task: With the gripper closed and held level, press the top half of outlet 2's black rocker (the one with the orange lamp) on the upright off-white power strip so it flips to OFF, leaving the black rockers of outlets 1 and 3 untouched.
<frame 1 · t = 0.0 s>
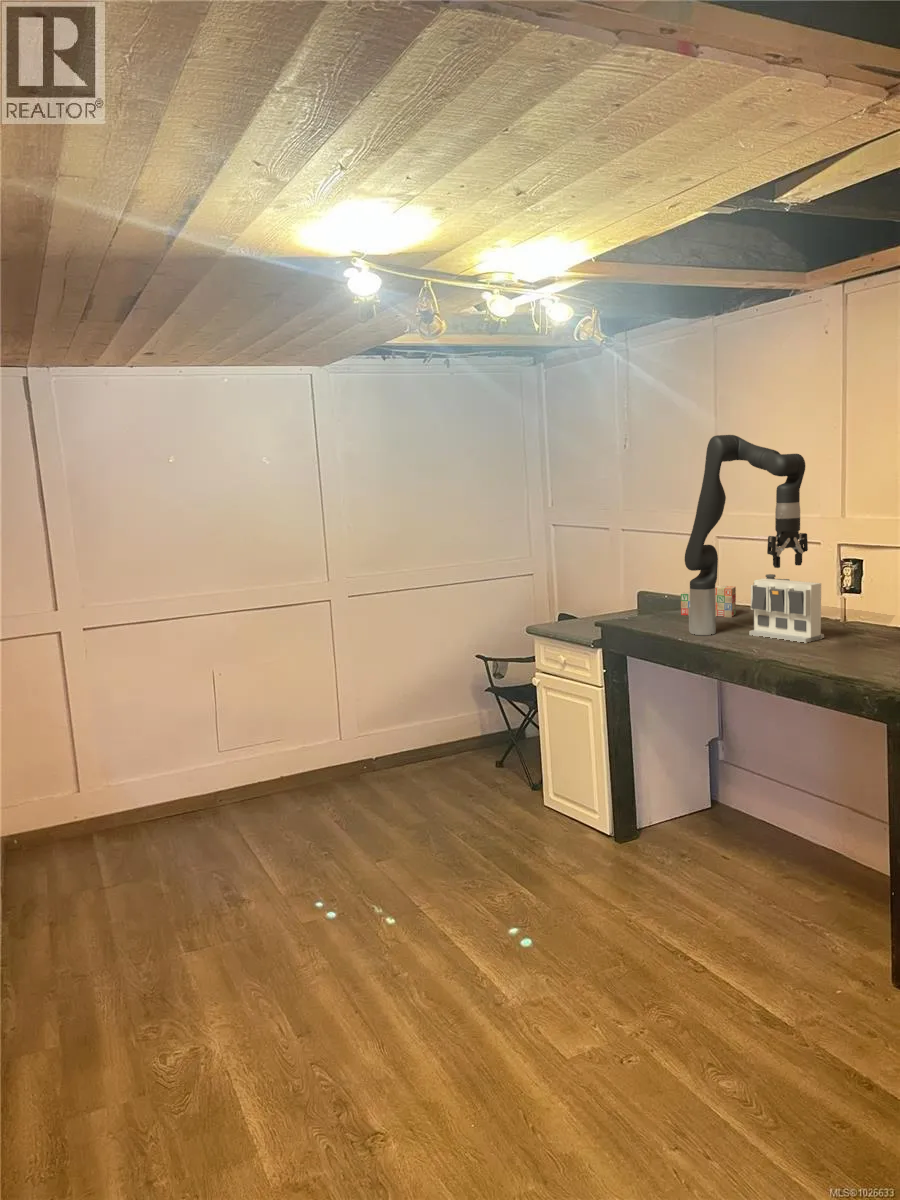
hand: (787, 566, 292), 29 cm above the table, tool pointing down, fingers open, 8 cm apart
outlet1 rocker: (760, 598, 325), point 14 cm above the table, hinge at -14.0°
outlet3 rocker: (797, 602, 313), point 14 cm above the table, hinge at 14.0°
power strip: (786, 636, 324), on the table
stack of blocks: (708, 615, 375), on the table
hip flask: (770, 626, 345), on the table
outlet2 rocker: (777, 600, 319), point 14 cm above the table, hinge at 14.0°
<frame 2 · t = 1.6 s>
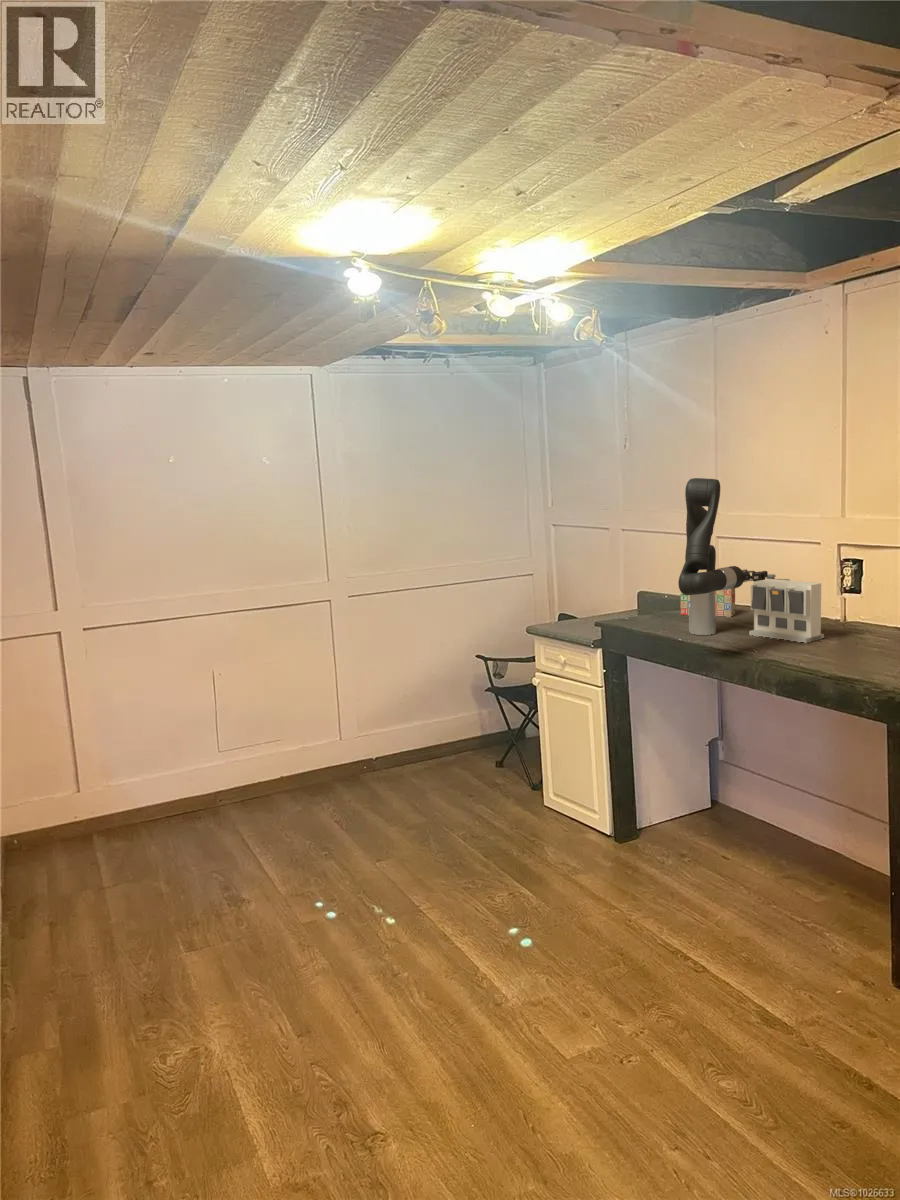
hand: (756, 573, 310), 25 cm above the table, tool horizontal, fingers open, 7 cm apart
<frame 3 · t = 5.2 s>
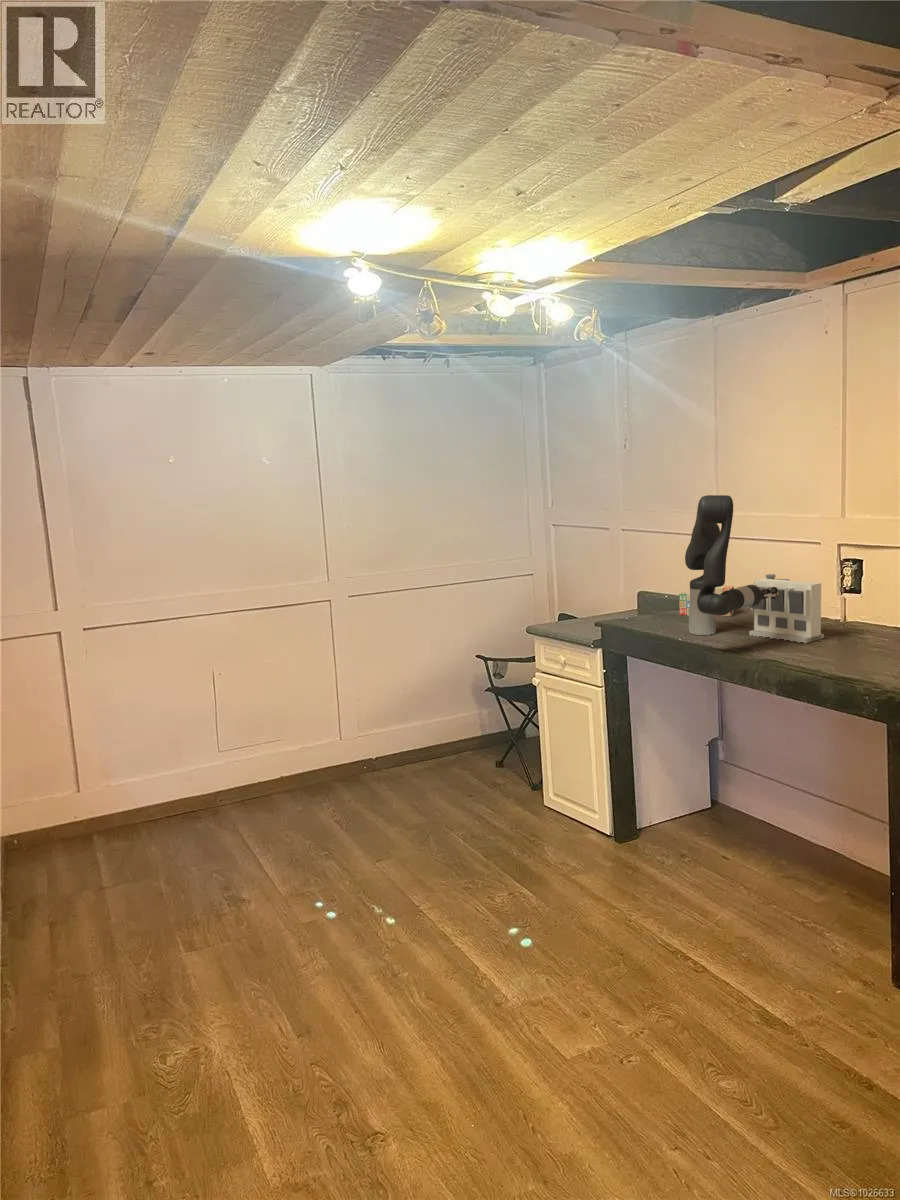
hand: (775, 590, 318), 18 cm above the table, tool horizontal, fingers closed
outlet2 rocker: (777, 600, 319), point 14 cm above the table, hinge at 12.4°, touching gripper
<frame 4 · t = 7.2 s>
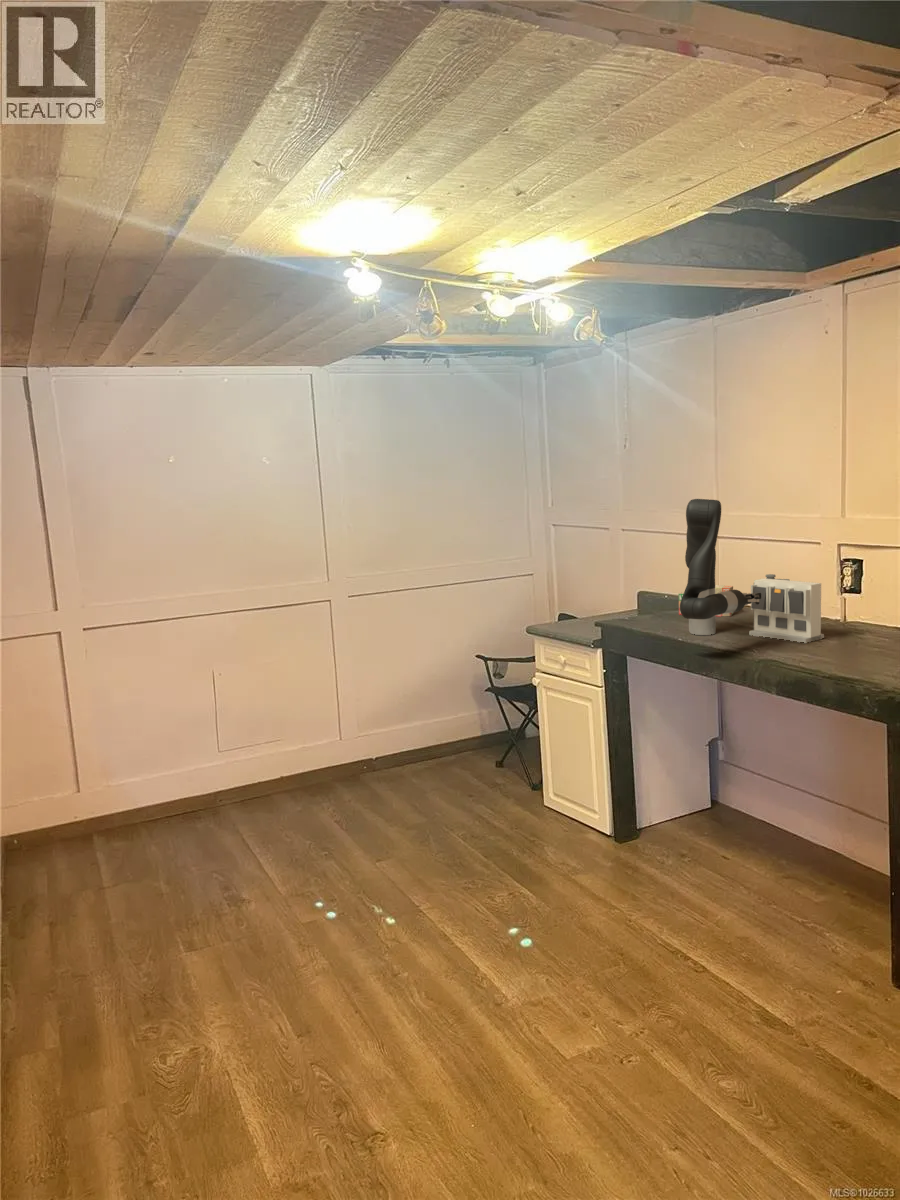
hand: (759, 595, 313), 17 cm above the table, tool horizontal, fingers closed
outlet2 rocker: (777, 600, 319), point 14 cm above the table, hinge at -11.3°
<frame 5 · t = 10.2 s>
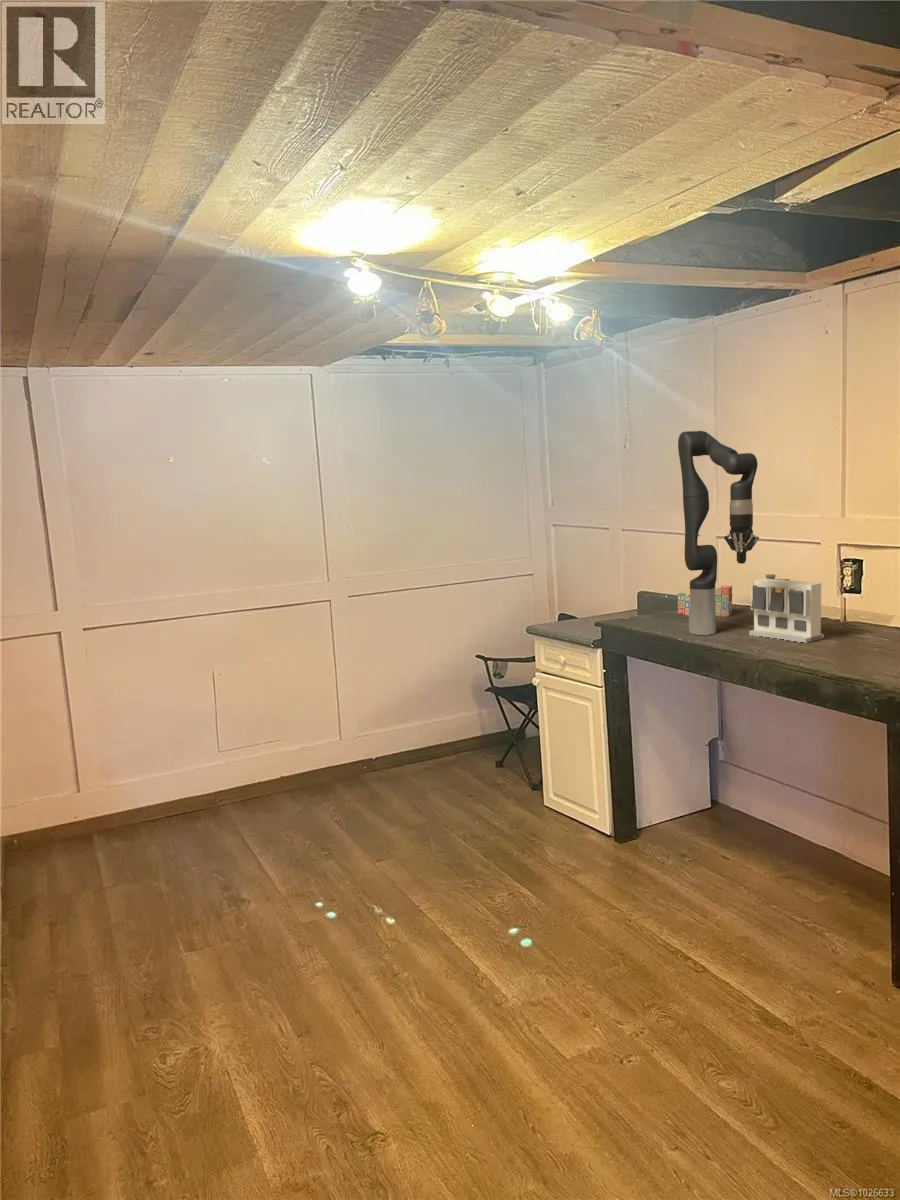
hand: (741, 563, 308), 29 cm above the table, tool pointing down, fingers closed
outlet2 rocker: (778, 600, 319), point 14 cm above the table, hinge at -21.0°
at the end: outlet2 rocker at -21° (first picture: +14°); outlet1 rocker at -14° (first picture: -14°); outlet3 rocker at +14° (first picture: +14°) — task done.
